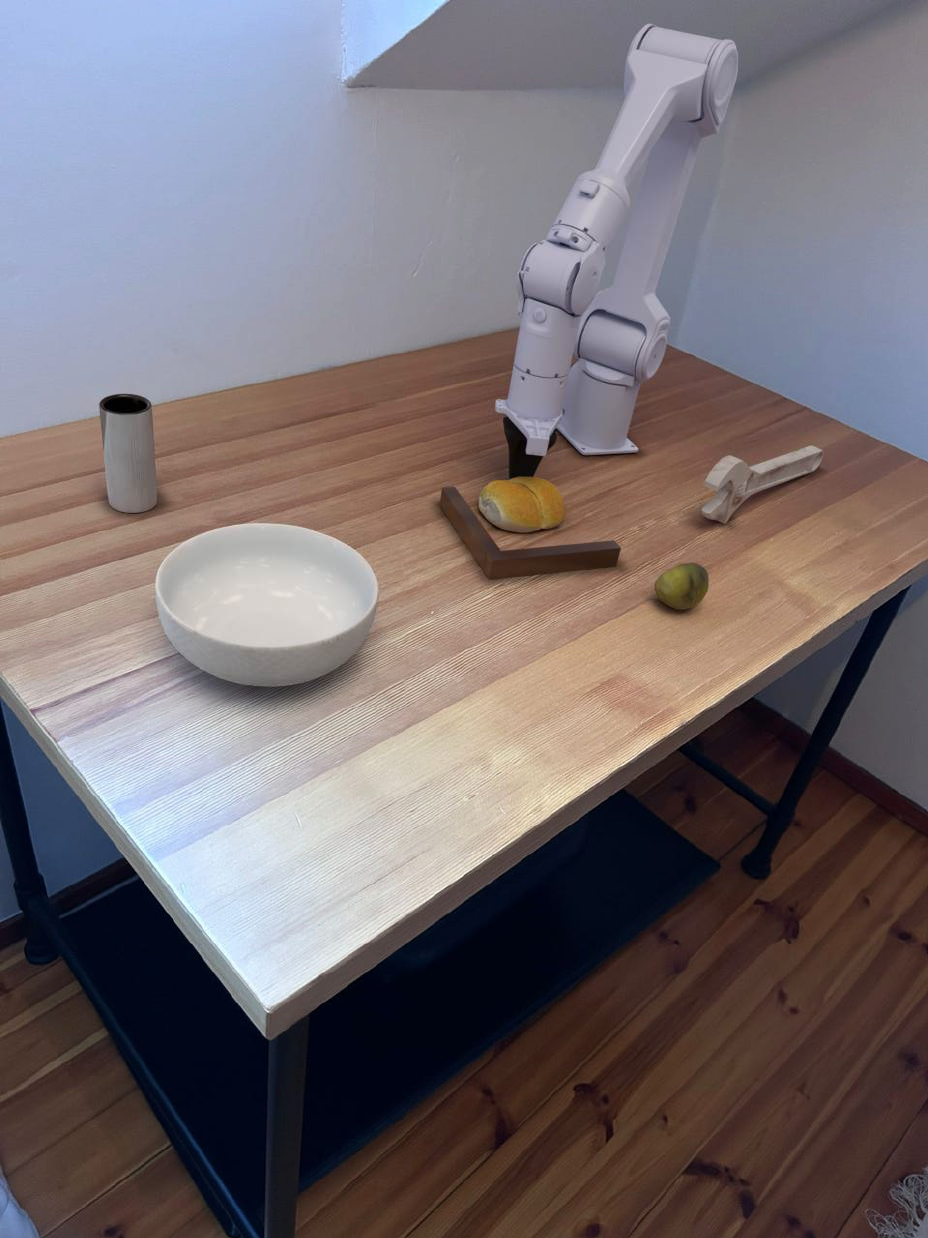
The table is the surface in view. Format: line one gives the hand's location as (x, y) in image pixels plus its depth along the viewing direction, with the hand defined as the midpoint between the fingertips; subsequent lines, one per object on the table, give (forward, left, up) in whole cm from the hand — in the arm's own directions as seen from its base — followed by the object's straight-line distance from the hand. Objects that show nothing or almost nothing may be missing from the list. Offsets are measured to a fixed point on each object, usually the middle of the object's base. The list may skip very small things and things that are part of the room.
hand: (518, 484), depth 104 cm
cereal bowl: (+22, -32, -1) cm, 39 cm away
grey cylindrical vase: (-3, -40, -1) cm, 40 cm away
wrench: (+5, +29, -1) cm, 30 cm away
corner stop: (+8, -3, -1) cm, 9 cm away
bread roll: (+5, -2, -1) cm, 5 cm away
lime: (+23, +7, -1) cm, 24 cm away
